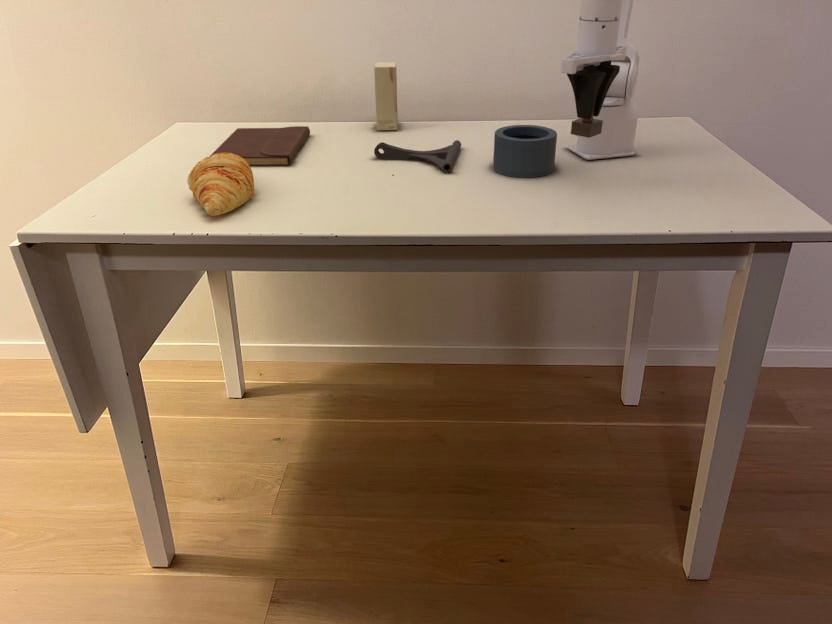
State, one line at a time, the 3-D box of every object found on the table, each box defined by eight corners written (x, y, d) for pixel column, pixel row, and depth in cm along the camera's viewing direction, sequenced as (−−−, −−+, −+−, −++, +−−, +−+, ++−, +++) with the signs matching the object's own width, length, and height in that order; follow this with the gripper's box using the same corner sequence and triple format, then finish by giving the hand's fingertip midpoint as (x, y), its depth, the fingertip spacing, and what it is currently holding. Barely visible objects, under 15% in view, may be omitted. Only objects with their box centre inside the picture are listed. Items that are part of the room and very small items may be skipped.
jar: (538, 157, 125) (541, 122, 122) (563, 174, 117) (567, 137, 113) (484, 162, 123) (486, 127, 120) (506, 180, 115) (508, 143, 111)
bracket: (383, 147, 133) (382, 132, 131) (461, 149, 130) (461, 133, 129) (366, 170, 121) (365, 154, 119) (451, 173, 118) (452, 157, 117)
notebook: (208, 165, 125) (206, 154, 124) (237, 136, 141) (235, 126, 140) (291, 165, 124) (290, 154, 123) (310, 135, 140) (309, 125, 139)
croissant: (238, 242, 103) (257, 195, 100) (171, 216, 100) (188, 166, 97) (250, 192, 121) (267, 150, 117) (193, 168, 118) (209, 124, 114)
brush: (582, 129, 111) (587, 83, 107) (601, 133, 109) (607, 86, 105) (570, 134, 109) (575, 86, 105) (589, 138, 107) (595, 90, 103)
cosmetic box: (397, 131, 142) (396, 66, 135) (376, 131, 142) (373, 67, 136) (398, 123, 147) (396, 60, 141) (377, 123, 148) (375, 61, 141)
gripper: (596, 27, 93) (584, 130, 101) (650, 15, 102) (635, 111, 109) (552, 23, 98) (543, 122, 105) (607, 12, 106) (595, 105, 114)
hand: (587, 116), depth 107 cm, fingers closed on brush
